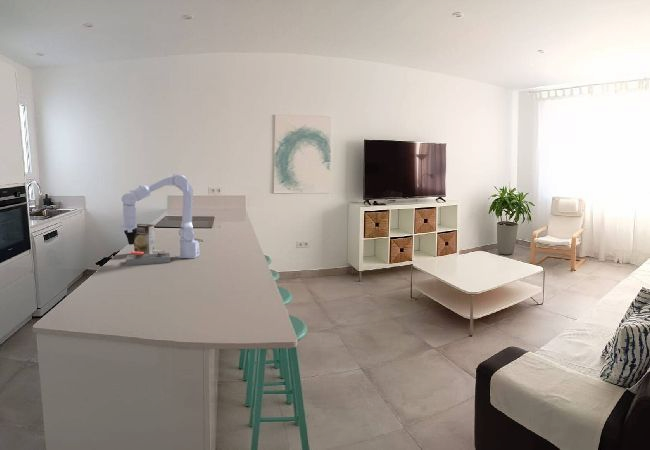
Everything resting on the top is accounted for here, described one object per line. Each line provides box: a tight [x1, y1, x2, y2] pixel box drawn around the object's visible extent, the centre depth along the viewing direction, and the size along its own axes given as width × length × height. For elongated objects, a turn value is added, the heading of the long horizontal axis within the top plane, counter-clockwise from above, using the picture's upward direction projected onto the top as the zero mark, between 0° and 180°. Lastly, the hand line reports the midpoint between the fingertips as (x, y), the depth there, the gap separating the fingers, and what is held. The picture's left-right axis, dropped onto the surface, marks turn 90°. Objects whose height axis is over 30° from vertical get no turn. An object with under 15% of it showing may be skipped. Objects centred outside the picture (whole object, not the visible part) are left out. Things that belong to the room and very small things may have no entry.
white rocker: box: [152, 249, 166, 254], centre depth 206 cm, size 6×3×1 cm, turn 114°
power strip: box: [125, 252, 171, 266], centre depth 203 cm, size 20×9×3 cm, turn 114°
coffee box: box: [133, 223, 156, 254], centre depth 219 cm, size 9×6×16 cm
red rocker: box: [130, 250, 144, 255], centre depth 202 cm, size 6×3×1 cm, turn 114°
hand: (131, 244), depth 200 cm, fingers closed
